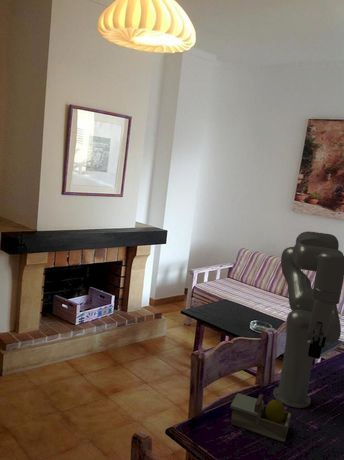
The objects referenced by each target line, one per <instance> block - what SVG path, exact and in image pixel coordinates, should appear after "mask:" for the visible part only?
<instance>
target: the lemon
mask: <svg viewBox="0 0 344 460" xmlns="http://www.w3.org/2000/svg"><path fill="white" fill-rule="evenodd" d="M266 405H267V407H266V411H265V414H266V418H267V420H269V421H272V422H275V423H278V424H279V423H281V422H282V421H283V419H284V414H285V411H286V410H285V406H284V404H283V403H281V402H280V401H278V400H277V399H272V400H270V401H269V402H268V403H267V404H266Z"/></svg>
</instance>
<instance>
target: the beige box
mask: <svg viewBox="0 0 344 460" xmlns="http://www.w3.org/2000/svg"><path fill="white" fill-rule="evenodd" d="M267 405H268V404H264V403H263V405H262V408H261V410H260V412H259V415H258V417H256V416H253V415H250V414H247V413H244V412H241V411H238V410H235V409H232V411H231V419H230V425H233V426H236V427H238V428H241V429H244V430H248V431H249V432H253V433H256V434H258V435H259V434H260V435H262V436H264V437H268V438H271V439H275V440H277V441H280V442H281V443H282V442H283V443H286V439H287V434H288V432H289V427H290V422H291V416H292V412H289V411H287V410H285V414H284V419H283V421H282V422H281V423H279V424H278V423H275V422H272V421H269V420H267V418H266V414H265V411H266V407H267Z"/></svg>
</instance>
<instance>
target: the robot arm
mask: <svg viewBox="0 0 344 460" xmlns="http://www.w3.org/2000/svg"><path fill="white" fill-rule="evenodd" d="M339 247H340V245H339V240H338V238H337V237H336V236H335V235H334V234H330V233H324V232H318V231H304V232H301V233H300V234H298V236H297V237H296V239H295V245H294V246H290V247H286V248H284V249H283V251H282V253H281V257H280V266H281V271H282V272H281V273H282V275H283V277H284V279H285V281H286V285H287V294H288V303H289V309H290V310H291V311H290V312H289V313H288V314H287V317H286V322H285V323H286V325H285V327H286V336H285V337H286V338H285V345H284V346H285V347H284V353H283V359H282V365H281V370H280V377H279V383H278V384H279V385H278V386H277V387H274V389H273V393H272V395H273V397H274V399H275V400H278V401H280V402H281V403H282V404H283V405H286V406H288V407H292V408H296V409H305V408H307V407H310V405H311V401H312V399H311V397H310V396H309V394H308V391H309V385H310V378H311V373H312V368H313V367H312V366H313V361H314V359H317V360H319V359H320V358H321V354H322V349H324V348H325V344H326V343H330V344H334V343H336V342H338V341H339V340H340V338H341V334H342V328H341V327H342V326H341V325H342V324H341V321H340V320H341V319H340V314H339V310H338V305H339V304H340V300H341V295H342V291H343V290H342V289H343V284H344V254H343V252H342V251H341V250H339ZM302 270H304V271H310V272H311V271H312V272H315V277H314V282H313V288H312V283H311V280H310V278H309V277H308V275H307V274H306V273H305V272H303V271H302ZM309 341H310V342H309Z"/></svg>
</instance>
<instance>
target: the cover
mask: <svg viewBox="0 0 344 460" xmlns="http://www.w3.org/2000/svg"><path fill="white" fill-rule="evenodd" d="M263 398H264V394H262V393H259V395H258V397H257V398H256V397H252V396H248V395H245V394H242V393H239V392H237V394H235V396H234V399H233V401H232V402H231V403H230V407H229V408H230V409H231V410H233V409H235V410H238V411H241V412H244V413H247V414H250V415H253V416H256V417H258V415H259V412H260V410H261V408H262V405H263V404H264V399H263Z"/></svg>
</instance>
